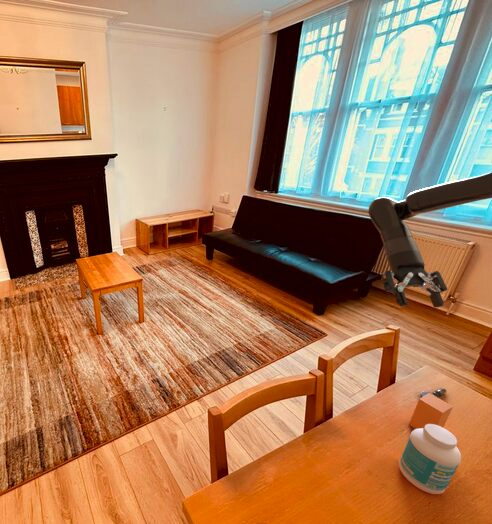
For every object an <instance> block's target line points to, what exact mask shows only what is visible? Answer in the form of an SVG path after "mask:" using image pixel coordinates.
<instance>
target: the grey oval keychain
mask: <svg viewBox="0 0 492 524" xmlns="http://www.w3.org/2000/svg"><path fill="white" fill-rule="evenodd" d="M447 392H448V391H447V389H446V388H444V387H440V388H439V389H436V390H434V391H433V392H429V391H421V393H420V394H419V397H420V398H422V397H424V396H425V395H427V394H429V393H430V394H432V395H434V396H436V397H437V398H440V397H441V396H443V395H445V394H447ZM420 398H419V399H420Z"/></svg>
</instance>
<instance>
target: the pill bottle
mask: <svg viewBox="0 0 492 524" xmlns="http://www.w3.org/2000/svg"><path fill="white" fill-rule="evenodd" d="M457 444H458V439H457V437H456V436H455V435H454V434H453V433H452V432H450V430H448V429H446V428H445V427H443V428H442V427H440V426H438V425H434V424H427V425H425V427H424V428H419V429H415V428H414V429H413V430H412V431H411V433H410V435H409V437H408V439H407V443H406V444H405V447H404V448H403V451H402V454H401V456H400V459H399V460H398V467H399V470H400V472H401V474H402V475H403V476H404V478H406V480H407V481H408V482H409V483H411V484H412V485H413V486H415V487H416V488H417V489H419V490H421V491H422V492H425V493H428V494H432V495H441V494H443V493H444V492H445V491H446V489H447V488H448V486H449V484H450V482H451V480H452V478H453V476H455V475H454V474H455V472H456V471H457V469H458V467H459V466H460V464H461V462H462V454H461V452H460V450H459V448H458V447H457Z"/></svg>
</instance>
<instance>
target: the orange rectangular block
mask: <svg viewBox="0 0 492 524" xmlns="http://www.w3.org/2000/svg"><path fill="white" fill-rule="evenodd" d="M430 393H431V392H429V394H427V395H425V396H424V397H422V398H418V400H417V403H416V406H415V408H414V410H413V413H412V416H411V417H410V421H409V423H408V425H409V426H410V427H412V428H413V429H414V430H415V429H419V428H424V427H425V425H427V424H434V425H438V426H440V427H442V428H445V425H446V423H447V421H448V418H449V417H450V415H451V412H452V410H453V408H454V406H453V405H452V404H450V403H448V402H446V401H444V400H442V399H441V398H440V397H438V398H437V397H436V396H434V395H432V394H430Z"/></svg>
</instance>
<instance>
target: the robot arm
mask: <svg viewBox="0 0 492 524" xmlns="http://www.w3.org/2000/svg"><path fill="white" fill-rule="evenodd" d="M488 199H489V200H490V199H492V171H491V172H488V173H484V174H481V175H477V176H473V177H470V178H464V179H460V180H454V181H449V182H445V183H441V184H437V185H433V186H430V187H425V188H422V189H419V190H415V191H413V192H410V193H409V194H408V195H407V196H406V197H405V199H403V200H399V201H398V200H395V199H393V198H391V197H386V196H382V197H381V196H380V197H377V198H375V199H373V200H372V201H371V202H370V203H369V205H368V215H369V218H370V220H371V222H372V224H373V225H374V226H375V229H376V230H377V231H378V232H379V236H380V239H381V241H382V244H383V250H384V254H385V257H386V260H387V263H388V266H389V269H390V270H386V271H384V272H382V273H381V274H380V276H381V281H382V285H383V289H384V292H386V293H391V294H393V296H394V298H395V301H396V304H397V305H399V307H403V308H404V307H407V306H408V304H409V302H408V300H407V298H406V294H405V292H404V290H405V288H410V287H412V288H419V289H421V290H422V291H425V292H426V293H427V294H429V298H430V302H431V303H432V307H433V308H436V309H437V308H441V307H443V306H444V303H445V302H444V300H443V297H442V294H441V293H443V292H446V291H448V287H447V285H446V283H445V281H444V279H443V276H442V274H441V272H439V271H438V270H435V271H433V272H431V271H430V272H427V271H426V269H425V265H426V264H425V262H424V259H423V256H422V254H421V251H420V249H419V246H418V244H417V242H416V240H415V238H414V237H413V234H412V232H411V228H410V227H409V225H408V223H406V222H404V221H406V220H408V219H411V218H414V217H416V216H418V215H421V214H426V213H431V212H435V211H440V210H444V209H445V210H446V209H449V208H453V207H457V206H462V205H465V204H470V203H475V202H479V201H483V200H488ZM394 280H396V283H394Z"/></svg>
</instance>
